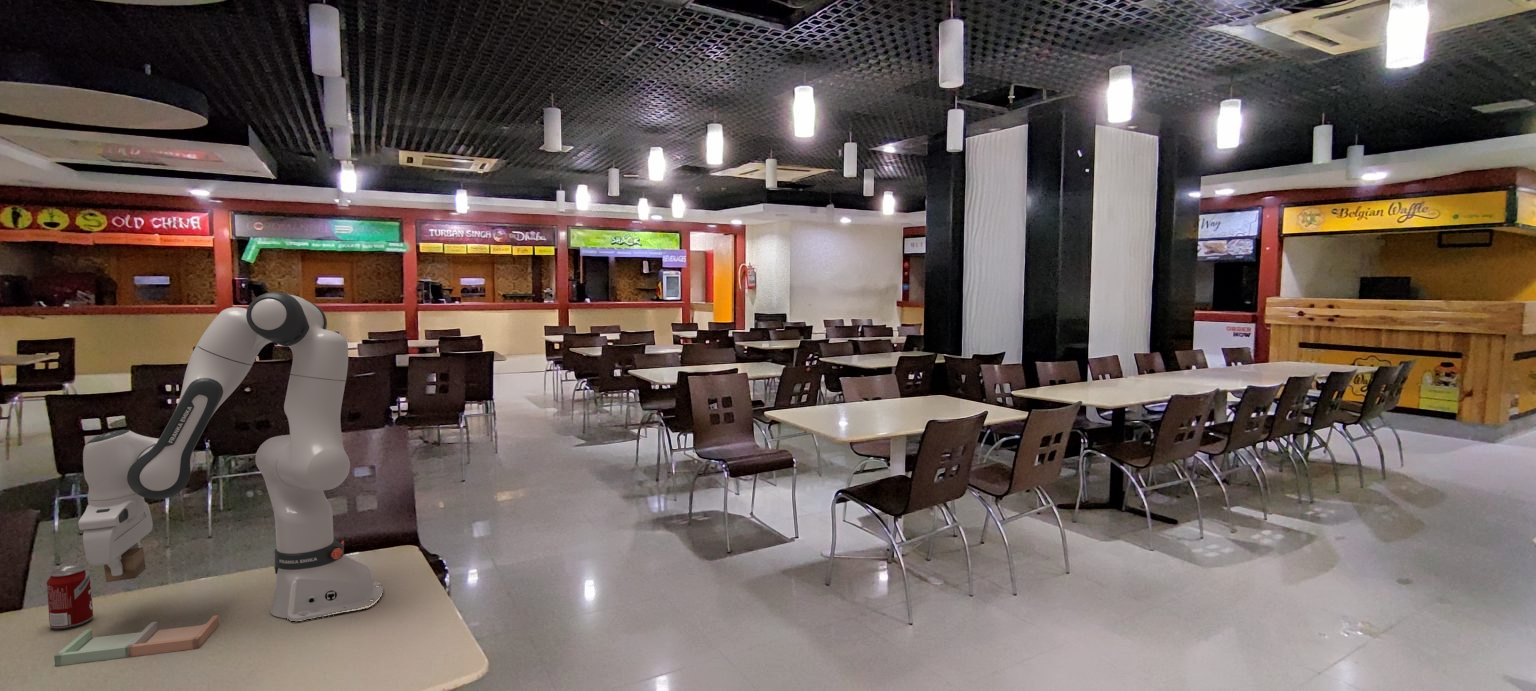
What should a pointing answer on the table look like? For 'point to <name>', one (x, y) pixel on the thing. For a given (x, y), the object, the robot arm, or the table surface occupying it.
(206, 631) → the green and pink trays
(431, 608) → the table surface
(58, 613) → the soda can
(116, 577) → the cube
